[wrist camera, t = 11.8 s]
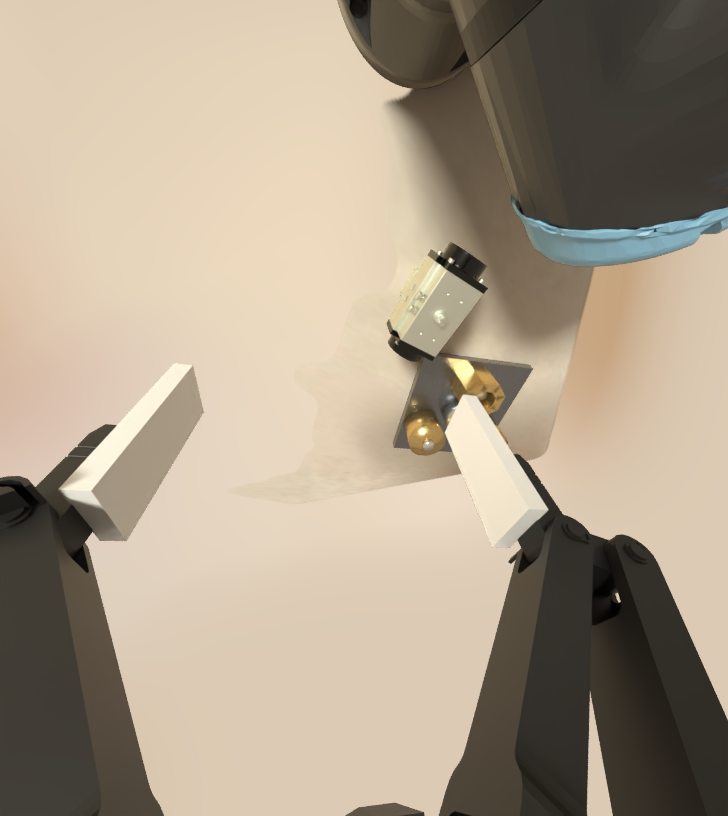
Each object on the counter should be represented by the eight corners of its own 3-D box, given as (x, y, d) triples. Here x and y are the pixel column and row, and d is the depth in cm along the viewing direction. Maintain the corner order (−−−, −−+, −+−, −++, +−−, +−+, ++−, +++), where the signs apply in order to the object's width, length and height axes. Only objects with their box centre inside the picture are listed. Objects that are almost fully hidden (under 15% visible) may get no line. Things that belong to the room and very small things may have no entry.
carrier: (423, 351, 43) (435, 375, 37) (529, 364, 46) (554, 389, 40) (392, 443, 55) (398, 471, 49) (477, 449, 58) (492, 477, 52)
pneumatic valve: (460, 251, 35) (504, 277, 25) (407, 332, 41) (427, 376, 31) (424, 226, 33) (457, 243, 23) (374, 314, 39) (384, 356, 29)
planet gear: (460, 364, 43) (472, 382, 39) (496, 369, 44) (511, 386, 40) (447, 395, 47) (456, 415, 43) (480, 399, 48) (492, 418, 44)
